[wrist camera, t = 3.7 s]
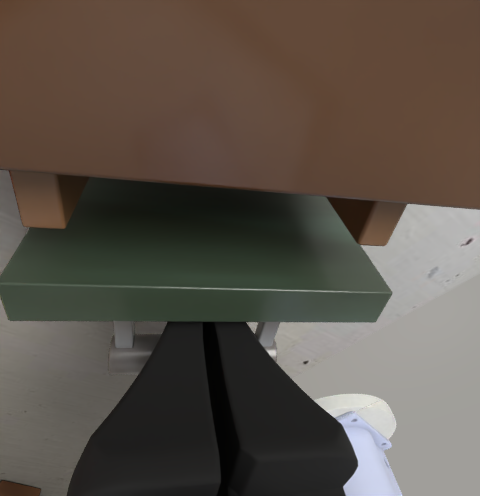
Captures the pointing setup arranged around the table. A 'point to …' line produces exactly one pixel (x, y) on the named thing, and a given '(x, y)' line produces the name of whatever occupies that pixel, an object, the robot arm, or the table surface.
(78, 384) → the table surface
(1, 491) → the wooden block
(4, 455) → the table surface
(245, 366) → the robot arm
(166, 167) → the cabinet
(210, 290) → the drawer
